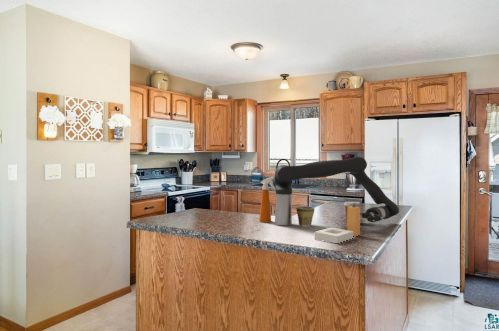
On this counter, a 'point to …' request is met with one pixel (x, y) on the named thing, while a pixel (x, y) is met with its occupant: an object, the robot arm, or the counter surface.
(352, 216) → the plug
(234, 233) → the counter surface
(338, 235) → the socket
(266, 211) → the spray bottle
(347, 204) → the disposable coffee cup
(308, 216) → the olive green flower pot
